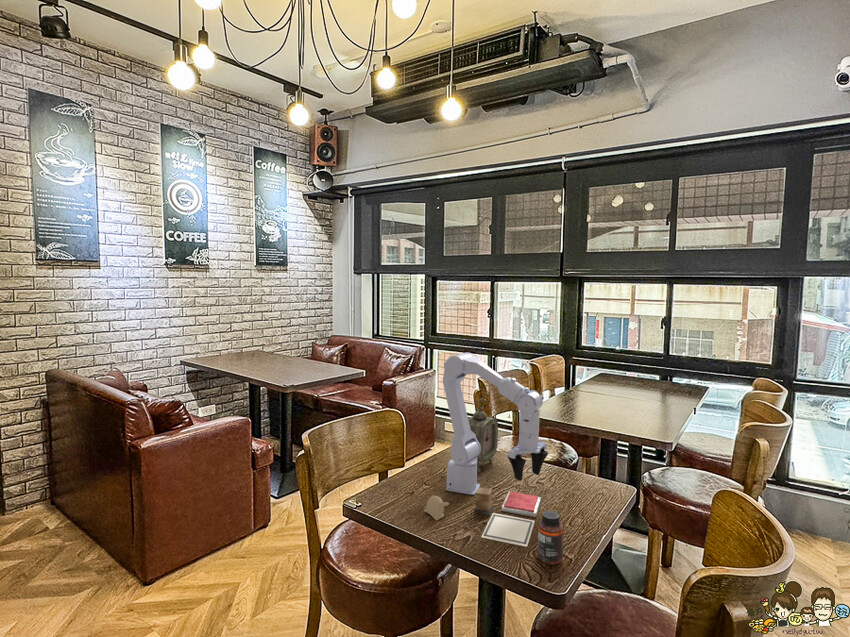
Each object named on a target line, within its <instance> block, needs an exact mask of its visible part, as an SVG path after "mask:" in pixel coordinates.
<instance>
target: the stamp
mask: <svg viewBox="0 0 850 637" xmlns="http://www.w3.org/2000/svg"><path fill="white" fill-rule="evenodd" d="M493 509H494V505H493V489H492V488H487V487H481V486H480V487H479V488H478V490H477V491H476V493H475V507H474V510H473V513H474V512H476V514H481V515H485V516H486V515H487V516H491V513H492V511H493Z"/></svg>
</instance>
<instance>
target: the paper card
mask: <svg viewBox="0 0 850 637" xmlns="http://www.w3.org/2000/svg"><path fill="white" fill-rule="evenodd" d="M535 522H536V521H535V520H533V519H527V518H523V517H522V518H521V517H516V516H512V515H506V514H501V513H496V512H495V513H494V512H492V514H491V515H490V518H489V519H488V522H487V524H486V527H485V528H484V531H483V533H482V534H481V536H480V537H481V539H485V538H486V539H485V540H491V541H496V542H501V543H505V544H511V545H515V546H518V547H519V546H520V547H525V548H527V547H528V546H529V542H530V538H531V535H532V533H533V532H532V531H533V528H534V525H535Z"/></svg>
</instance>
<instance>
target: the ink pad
mask: <svg viewBox="0 0 850 637" xmlns="http://www.w3.org/2000/svg"><path fill="white" fill-rule="evenodd" d="M541 501H542V497H541V496H537V495H533V494H525V493H521V492H514V491H508V492H507V495H506V497H505V499H504V501H503V503H502V505H501V512H505V513H511V514H515V515H521V516H526V517H533V518H537V515H538V512H539V508H540V505H541Z"/></svg>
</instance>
